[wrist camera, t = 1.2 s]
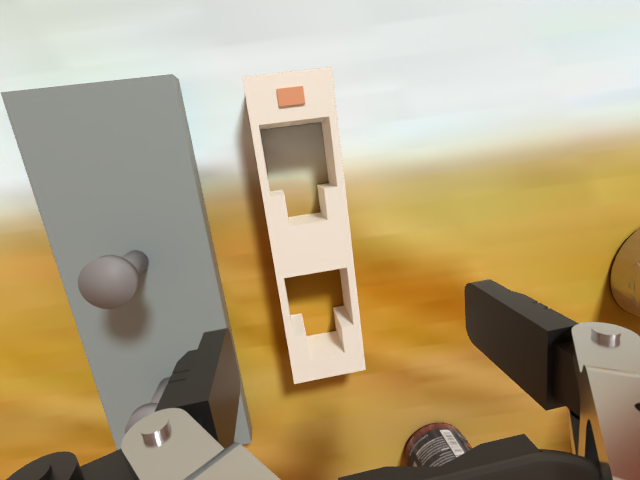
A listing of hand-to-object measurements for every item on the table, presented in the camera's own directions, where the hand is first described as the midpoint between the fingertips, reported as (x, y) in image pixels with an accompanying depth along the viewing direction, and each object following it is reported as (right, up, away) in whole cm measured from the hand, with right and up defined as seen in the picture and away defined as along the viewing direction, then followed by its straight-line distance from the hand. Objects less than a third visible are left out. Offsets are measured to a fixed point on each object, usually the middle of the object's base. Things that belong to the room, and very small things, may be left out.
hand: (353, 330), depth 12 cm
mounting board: (-14, -1, +15) cm, 20 cm away
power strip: (-2, +4, +15) cm, 16 cm away
